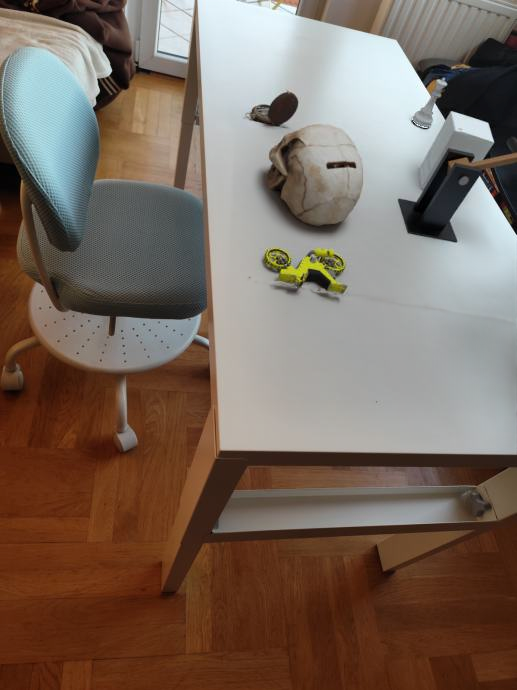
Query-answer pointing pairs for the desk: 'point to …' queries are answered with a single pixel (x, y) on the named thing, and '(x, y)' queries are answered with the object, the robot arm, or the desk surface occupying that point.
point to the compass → (276, 110)
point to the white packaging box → (456, 142)
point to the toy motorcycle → (309, 268)
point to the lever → (513, 144)
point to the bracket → (440, 198)
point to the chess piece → (429, 106)
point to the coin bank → (317, 173)
